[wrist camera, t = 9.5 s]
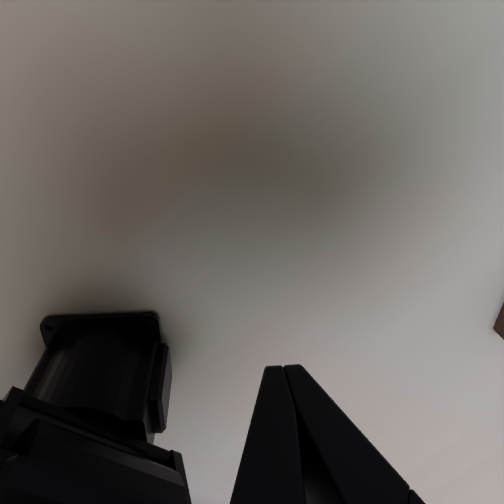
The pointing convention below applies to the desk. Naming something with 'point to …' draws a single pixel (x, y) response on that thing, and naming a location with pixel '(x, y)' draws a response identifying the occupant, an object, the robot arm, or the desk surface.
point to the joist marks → (500, 323)
